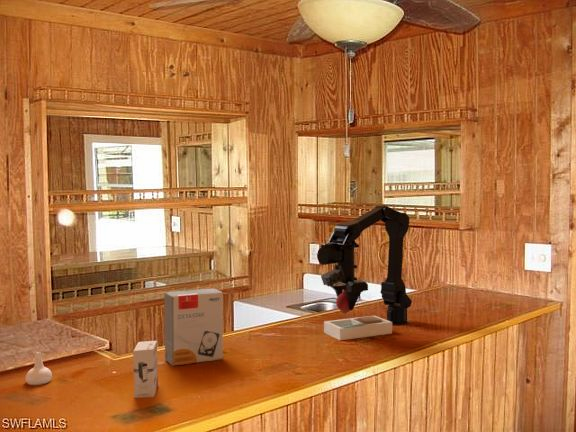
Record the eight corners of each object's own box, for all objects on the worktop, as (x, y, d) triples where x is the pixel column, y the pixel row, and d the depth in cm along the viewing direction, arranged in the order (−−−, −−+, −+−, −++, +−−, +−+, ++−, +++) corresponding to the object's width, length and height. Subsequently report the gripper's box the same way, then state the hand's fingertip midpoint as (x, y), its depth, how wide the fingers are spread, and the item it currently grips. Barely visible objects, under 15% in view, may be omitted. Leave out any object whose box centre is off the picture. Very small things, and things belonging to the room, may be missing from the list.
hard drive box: (172, 367, 171) (170, 296, 170) (164, 360, 178) (162, 292, 176) (224, 359, 178) (223, 291, 177) (214, 352, 185) (213, 287, 183)
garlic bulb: (42, 388, 156) (44, 358, 155) (20, 385, 157) (21, 354, 156) (56, 380, 162) (57, 351, 162) (34, 377, 163) (36, 348, 163)
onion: (356, 312, 205) (355, 288, 205) (350, 315, 200) (349, 291, 199) (340, 311, 207) (339, 288, 207) (333, 314, 202) (333, 290, 202)
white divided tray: (374, 326, 215) (374, 313, 215) (392, 333, 205) (392, 320, 205) (324, 332, 207) (323, 319, 207) (339, 340, 197) (339, 326, 197)
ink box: (139, 386, 155) (138, 340, 155) (158, 385, 156) (157, 339, 155) (133, 398, 147) (132, 350, 146) (154, 397, 147) (153, 349, 146)
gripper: (311, 260, 208) (312, 305, 209) (338, 267, 191) (338, 316, 192) (340, 257, 212) (340, 302, 213) (368, 264, 195) (369, 312, 196)
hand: (346, 308), depth 204 cm, fingers closed on onion, 6 cm apart
